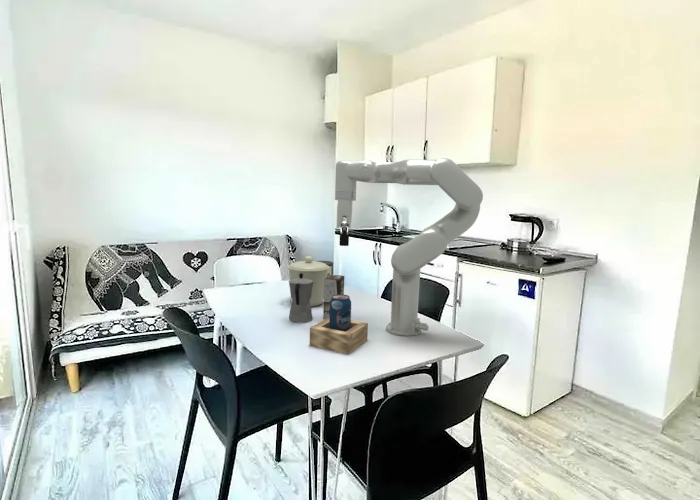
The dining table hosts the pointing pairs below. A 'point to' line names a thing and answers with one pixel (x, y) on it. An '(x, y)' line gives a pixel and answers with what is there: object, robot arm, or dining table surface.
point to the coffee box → (331, 291)
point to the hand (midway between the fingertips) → (344, 243)
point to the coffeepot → (300, 299)
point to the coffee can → (330, 264)
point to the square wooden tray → (338, 336)
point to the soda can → (340, 313)
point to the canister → (311, 276)
